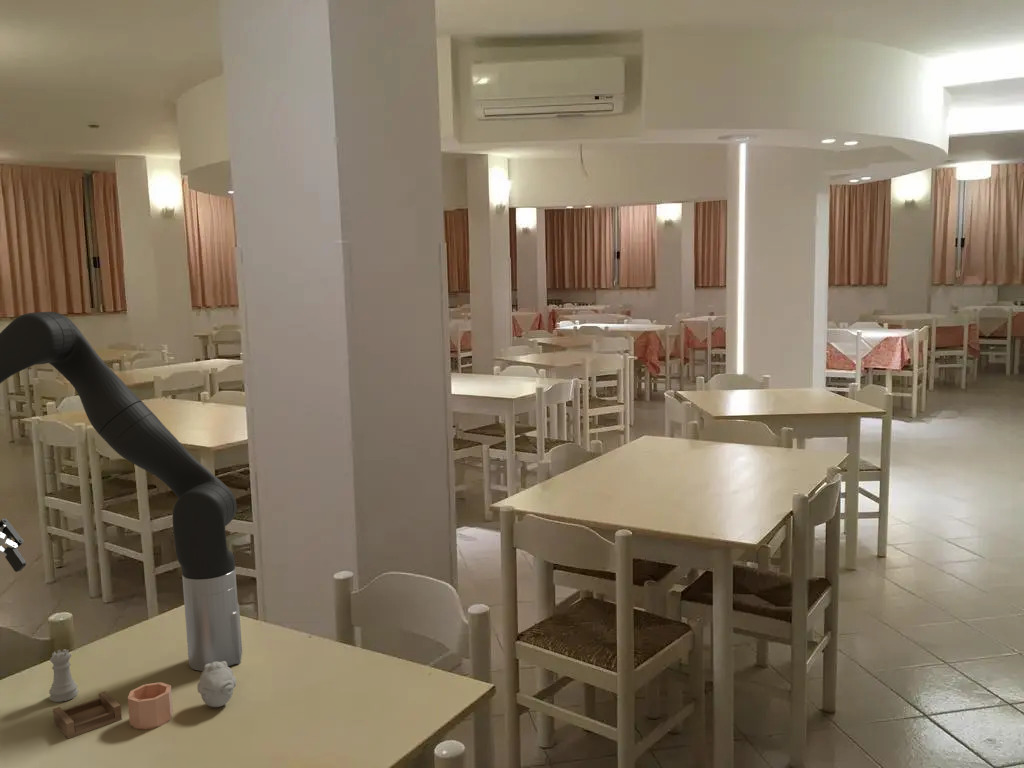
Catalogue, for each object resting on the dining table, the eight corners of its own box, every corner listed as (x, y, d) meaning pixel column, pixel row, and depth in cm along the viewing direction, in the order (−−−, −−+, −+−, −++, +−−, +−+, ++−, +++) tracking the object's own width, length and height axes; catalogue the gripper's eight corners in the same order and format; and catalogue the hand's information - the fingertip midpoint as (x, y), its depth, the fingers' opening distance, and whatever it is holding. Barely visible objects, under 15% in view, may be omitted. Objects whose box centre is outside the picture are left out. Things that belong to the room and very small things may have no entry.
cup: (174, 708, 140) (172, 680, 139) (169, 726, 134) (167, 697, 133) (135, 713, 138) (132, 685, 138) (127, 732, 132) (125, 703, 132)
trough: (54, 722, 136) (52, 708, 136) (106, 704, 141) (105, 691, 141) (68, 738, 131) (66, 724, 131) (121, 719, 136) (120, 705, 136)
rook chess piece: (84, 692, 146) (80, 648, 145) (63, 704, 142) (59, 659, 141) (64, 689, 148) (60, 645, 147) (43, 701, 143) (38, 656, 142)
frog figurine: (237, 692, 145) (234, 653, 144) (237, 711, 138) (234, 670, 137) (199, 698, 143) (196, 659, 142) (198, 718, 136) (194, 676, 135)
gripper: (-73, 493, 143) (-21, 568, 140) (-2, 484, 156) (47, 552, 153) (-99, 522, 144) (-48, 596, 141) (-26, 510, 158) (21, 578, 155)
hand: (1, 573), depth 147 cm, fingers open, 8 cm apart
